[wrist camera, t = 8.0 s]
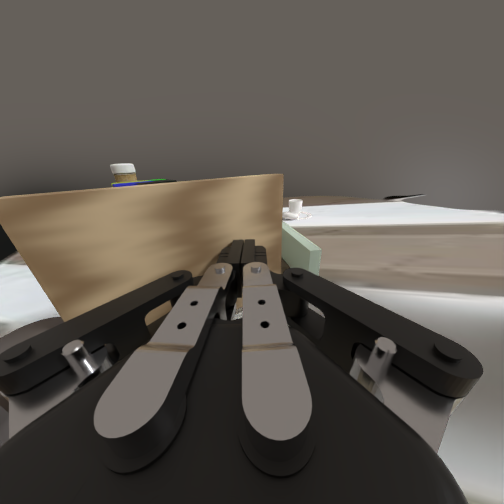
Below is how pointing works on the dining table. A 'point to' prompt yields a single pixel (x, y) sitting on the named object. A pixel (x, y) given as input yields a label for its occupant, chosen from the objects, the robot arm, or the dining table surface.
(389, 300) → the dining table surface
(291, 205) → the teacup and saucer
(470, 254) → the dining table surface
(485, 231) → the dining table surface
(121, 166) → the sprinkles bottle
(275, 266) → the tan wooden flat panel
